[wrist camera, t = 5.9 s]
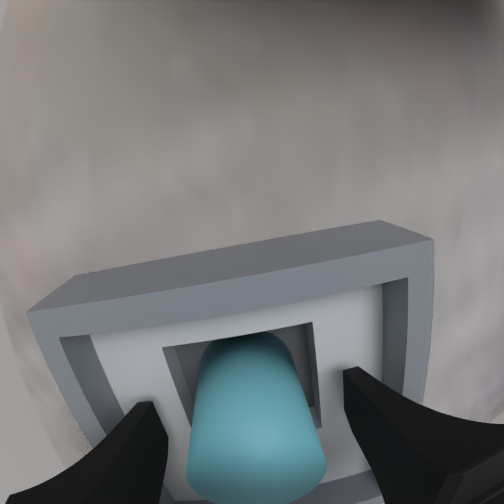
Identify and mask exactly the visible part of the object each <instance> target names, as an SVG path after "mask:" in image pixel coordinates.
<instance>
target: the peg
mask: <svg viewBox="0 0 504 504" xmlns="http://www.w3.org/2000/svg"><path fill="white" fill-rule="evenodd" d="M326 468H327V463H326V459H325V455H324V452H323V449H322V446H321V443H320V440H319V437H318V434H317V431H316V428H315V425H314V422H313V419H312V416H311V413H310V410H309V407H308V404H307V401H306V398H305V395H304V392H303V388H302V385H301V382H300V379H299V376H298V373H297V370H296V367H295V364H294V361H293V358H292V355H291V352H290V350H289V348H288V347H287V346H286V344H285V343H284V342H283V341H282V340H281V339H280V338H278V337H277V336H275V335H274V334H272V333H269V332H267V331H263V332H257V333H252V334H246V335H240V336H234V337H228V338H222V339H216V340H213V341H212V342H211V343H210V344H209V345H208V346H207V347H206V349H205V351H204V352H203V355H202V357H201V362H200V368H199V375H198V382H197V390H196V397H195V404H194V412H193V420H192V427H191V435H190V444H189V452H188V460H187V469H186V477H187V480H188V483H189V484H190V486H191V487H192V489H193V490H194V491H195V492H196V493H197V494H198V495H200V496H201V497H203V498H204V499H206V500H208V501H210V502H213V503H215V504H287V503H290V502H293V501H295V500H297V499H299V498H301V497H303V496H305V495H306V494H308V493H309V492H310V491H312V490H313V489H314V488H315V487H316V486H317V485H318V484H319V483H320V482H321V480H322V479H323V477H324V475H325V472H326Z"/></svg>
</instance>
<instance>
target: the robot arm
mask: <svg viewBox="0 0 504 504" xmlns="http://www.w3.org/2000/svg"><path fill="white" fill-rule="evenodd" d="M343 397H344V411H345V414H346V417H347V420H348V423H349V426H350V428H351V431H352V433H353V435H354V437H355V439H356V441H357V443H358V445H359V446H360V448H361V450H362V452H363V454H364V456H365V458H366V460H367V462H368V464H369V466H370V467H371V469H372V471H373V473H374V476H375V478H376V480H377V483H378V486H379V488H380V491H381V494H382V497H383V500H384V503H385V504H504V424H491V423H482V422H476V421H470V420H465V419H461V418H457V417H453V416H450V415H446V414H443V413H440V412H437V411H435V410H432V409H430V408H427V407H425V406H423V405H420V404H418V403H416V402H414V401H412V400H410V399H408V398H406V397H405V396H403V395H401V394H399V393H398V392H396V391H394V390H393V389H391V388H390V387H388V386H386V385H385V384H383V383H382V382H380V381H379V380H377V379H376V378H375V377H373V376H372V375H370V374H369V373H367V372H366V371H365V370H363V369H362V368H360V367H359V366H356V367H352V368H349V369H345V370H343ZM168 444H169V437H168V435H167V432H166V430H165V428H164V426H163V424H162V422H161V420H160V417H159V415H158V413H157V411H156V408H155V406H154V404H153V401H145V402H137V403H136V404H135V405H134V407H133V408H132V409H131V410H130V411H129V412H128V413H127V414H126V415H125V416H124V418H123V419H122V420H121V421H120V422H119V423H118V424H117V425H116V426H115V427H114V429H113V430H112V431H111V432H110V433H109V434H108V435H107V436H106V437H105V438H104V439H103V440H102V441H101V442H100V443H99V444H98V445H97V446H96V447H95V448H93V449H92V450H91V451H90V452H89V453H88V454H87V455H85V456H84V457H83V458H82V459H80V460H79V461H78V462H76V463H75V464H74V465H72V466H71V467H69V468H68V469H66V470H65V471H63V472H61V473H60V474H58V475H57V476H55V477H53V478H51V479H49V480H47V481H46V482H44V483H41V484H39V485H37V486H35V487H32V488H30V489H27V490H24V491H21V492H18V493H15V494H12V495H10V496H9V497H8V499H7V501H6V503H5V504H159V501H160V496H161V491H162V486H163V481H164V476H165V471H166V465H167V460H168Z"/></svg>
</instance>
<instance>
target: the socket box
mask: <svg viewBox="0 0 504 504" xmlns="http://www.w3.org/2000/svg"><path fill="white" fill-rule="evenodd" d="M433 297H434V239H432V238H429V237H426V236H424V235H421V234H418V233H415V232H413V231H410V230H407V229H404V228H401V227H398V226H396V225H393V224H390V223H387V222H384V221H381V220H378V221H372V222H366V223H361V224H355V225H349V226H343V227H338V228H332V229H326V230H321V231H315V232H309V233H304V234H298V235H293V236H287V237H281V238H276V239H270V240H265V241H259V242H254V243H248V244H243V245H237V246H232V247H226V248H221V249H215V250H210V251H204V252H199V253H194V254H188V255H183V256H177V257H172V258H167V259H161V260H156V261H151V262H145V263H140V264H135V265H129V266H124V267H119V268H114V269H108V270H103V271H98V272H93V273H88V274H82V275H77V276H74V277H73V278H71V279H70V280H68V281H67V282H66V283H64V284H63V285H61V286H60V287H59V288H57V289H56V290H55V291H53V292H52V293H51V294H49V295H48V296H47V297H45V298H44V299H42V300H41V301H40V302H39V303H37V304H36V305H35V306H33V307H32V308H31V309H29V310H28V311H27V312H26V313H27V316H28V319H29V321H30V324H31V327H32V329H33V332H34V334H35V337H36V339H37V342H38V344H39V346H40V349H41V351H42V353H43V356H44V358H45V360H46V362H47V364H48V367H49V369H50V371H51V373H52V375H53V377H54V379H55V381H56V383H57V385H58V387H59V389H60V391H61V393H62V395H63V397H64V399H65V401H66V403H67V404H68V406H69V408H70V410H71V412H72V413H73V415H74V417H75V419H76V420H77V422H78V424H79V426H80V427H81V429H82V431H83V432H84V434H85V435H86V437H87V439H88V440H89V442H90V443H91V445H92V447H93V448H95V447H96V446H97V445H98V444H99V443H100V442H101V441H102V440H103V439H104V438H105V437H106V436H107V435H108V434H109V433H110V432H111V431H112V430H113V429H114V427H115V426H116V425H117V424H118V423H119V422H120V421H121V420H122V419H123V418H124V416H125V415H126V414H127V413H128V412H129V411H130V410H131V409H132V408H133V407H134V405H135V404H136V403H137V402H145V401H153V404H154V406H155V408H156V411H157V413H158V415H159V417H160V420H161V422H162V424H163V426H164V428H165V430H166V432H167V435H168V437H169V444H168V460H167V465H166V471H165V476H164V481H163V486H162V491H161V496H160V501H159V504H215V503H213V502H210V501H208V500H206V499H204V498H203V497H201V496H200V495H198V494H197V493H196V492H195V491H194V490H193V489H192V487H191V486H190V484H189V483H188V480H187V477H186V469H187V460H188V452H189V444H190V435H191V427H192V420H193V412H194V404H195V397H196V390H197V382H198V375H199V368H200V362H201V357H202V355H203V352H204V351H205V349H206V347H207V346H208V345H209V344H210V343H211V342H212V341H213V340H216V339H222V338H228V337H234V336H240V335H246V334H252V333H257V332H263V331H267V332H269V333H272V334H274V335H275V336H277V337H278V338H280V339H281V340H282V341H283V342H284V343H285V344H286V346H287V347H288V348H289V350H290V352H291V355H292V358H293V361H294V364H295V367H296V370H297V373H298V376H299V379H300V382H301V385H302V388H303V392H304V395H305V398H306V401H307V404H308V407H309V410H310V413H311V416H312V419H313V422H314V425H315V428H316V431H317V434H318V437H319V440H320V443H321V446H322V449H323V452H324V455H325V459H326V463H327V468H326V472H325V475H324V477H323V479H322V480H321V482H320V483H319V484H318V485H317V486H316V487H315V488H314V489H313V490H312V491H310V492H309V493H308V494H306V495H305V496H303V497H301V498H299V499H297V500H295V501H293V502H290V503H287V504H380V503H383V502H384V500H383V497H382V494H381V491H380V488H379V486H378V483H377V480H376V478H375V476H374V473H373V471H372V469H371V467H370V466H369V464H368V462H367V460H366V458H365V456H364V454H363V452H362V450H361V448H360V446H359V445H358V443H357V441H356V439H355V437H354V435H353V433H352V431H351V428H350V426H349V423H348V420H347V417H346V414H345V411H344V397H343V370H345V369H349V368H352V367H356V366H359V367H360V368H362V369H363V370H365V371H366V372H367V373H369V374H370V375H372V376H373V377H375V378H376V379H377V380H379V381H380V382H382V383H383V384H385V385H386V386H388V387H390V388H391V389H393V390H394V391H396V392H398V393H399V394H401V395H403V396H405V397H406V398H408V399H410V400H412V401H414V402H416V403H418V404H420V405H422V402H423V396H424V390H425V384H426V377H427V369H428V361H429V352H430V342H431V331H432V317H433Z"/></svg>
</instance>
